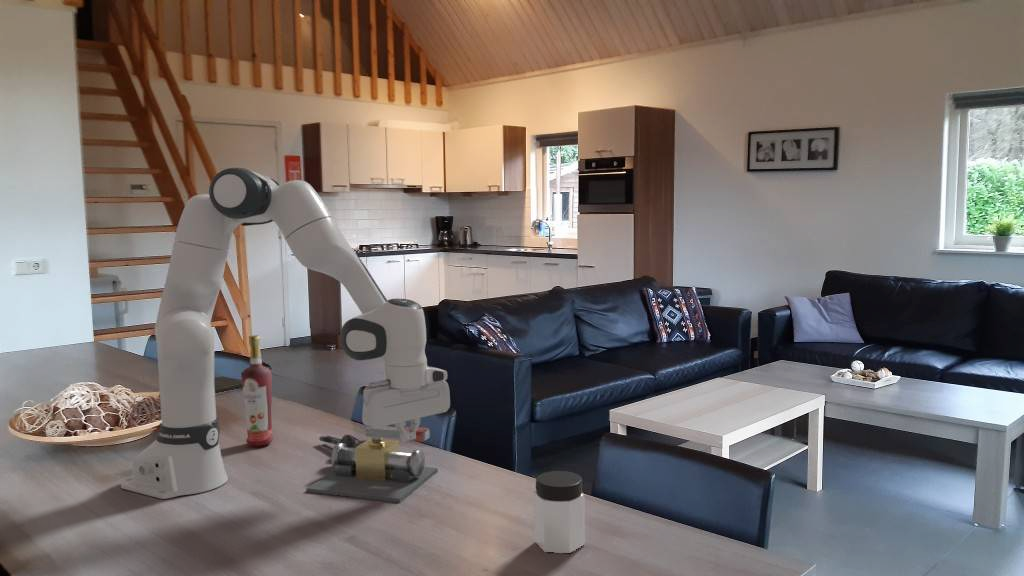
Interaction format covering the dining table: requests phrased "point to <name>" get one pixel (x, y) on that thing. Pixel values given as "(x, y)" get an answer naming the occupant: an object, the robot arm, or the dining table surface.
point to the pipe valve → (377, 461)
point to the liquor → (257, 397)
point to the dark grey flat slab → (226, 384)
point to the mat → (369, 486)
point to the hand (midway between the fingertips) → (408, 440)
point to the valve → (343, 440)
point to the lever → (395, 433)
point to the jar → (559, 512)
